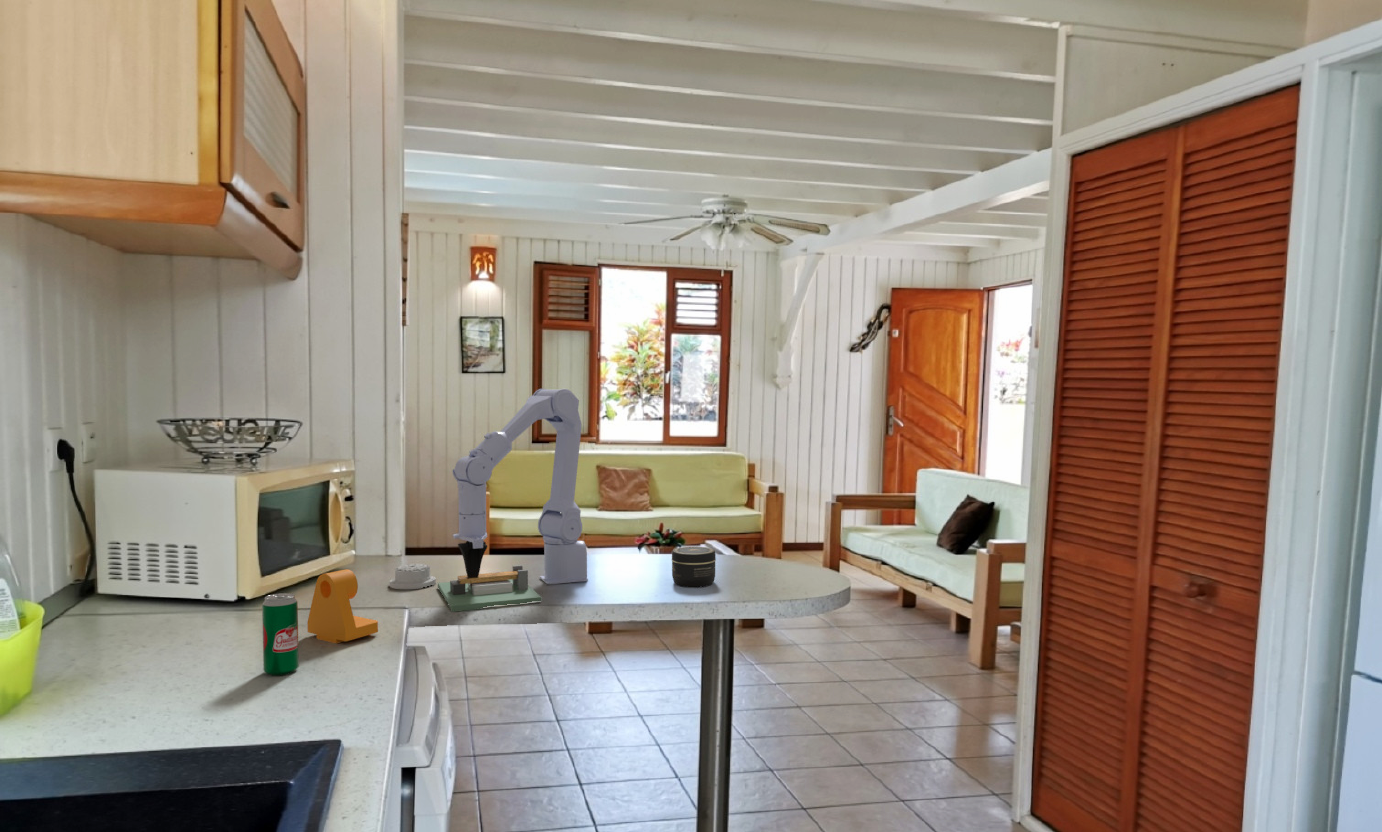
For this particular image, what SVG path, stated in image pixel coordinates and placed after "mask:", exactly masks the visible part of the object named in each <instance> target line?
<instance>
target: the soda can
mask: <svg viewBox="0 0 1382 832" xmlns="http://www.w3.org/2000/svg"><path fill="white" fill-rule="evenodd" d="M295 596H296V595H295V594H294V593H289V592H283V593H274V594H270V595H267V596H265V597H264V601H263V603H262V604H261V606H262V607H261V611H262V612H261V613H262V615H261V616H262V620H261V621H262V659H263V661H262V662H263V672H264V673H265V674H267V675H268V676H276V677H278V676H286V675H289V674H292V673H294V672H296V671H297V669H298V668H299V666H300V664H299V663H300V660H299V658H300V657H299V653H300V652H299V618H298V617H299V615H298V613H299V610H298V600H297V599H296V597H295Z"/></svg>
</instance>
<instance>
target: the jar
mask: <svg viewBox="0 0 1382 832" xmlns="http://www.w3.org/2000/svg"><path fill="white" fill-rule="evenodd" d="M716 557H717V556H716V551H715V549H714V548H711V547H706V546H681V547H676V548H674V549H672V551H671V575H672V580H673V583H674V584H675V586H678V587H681V588H687V589H688V588H694V589H696V588H697V589H698V588H706V587H710V586H712V585H713V583H714V582H715V579H716V560H717V558H716Z"/></svg>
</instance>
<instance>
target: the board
mask: <svg viewBox="0 0 1382 832" xmlns="http://www.w3.org/2000/svg"><path fill="white" fill-rule="evenodd" d="M516 570H518V579H510V580H500V581H489V582H478V583H467V584H460V583H459V582H458V579H457V580H450V581H446V582H437V589H438V588H439V589H438V591H439V590H440V591H439V592H441V593H442V594H441V593H440V594H441V596H442V595H443V596H444V598H445V599H446V601H447V602H448V604H449V606H450V608H449V609H450V611H451V612H452V613H453V612H464V611H472V610H473V611H474V610H481V608H483V607H487V606H494V605H507V604H520V603H527V602H532V601H541V602H542V596H540V594H539V593H537V592H536V591H535V590H534V589H533V588H532V587H531V586H530V585H529V571H528V569H523V565H522V564H517V565H512V571H516ZM443 596H442V597H443ZM444 598H443V599H444ZM445 599H444V600H445ZM446 601H445V602H446ZM448 604H447V605H448ZM449 606H448V607H449Z"/></svg>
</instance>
